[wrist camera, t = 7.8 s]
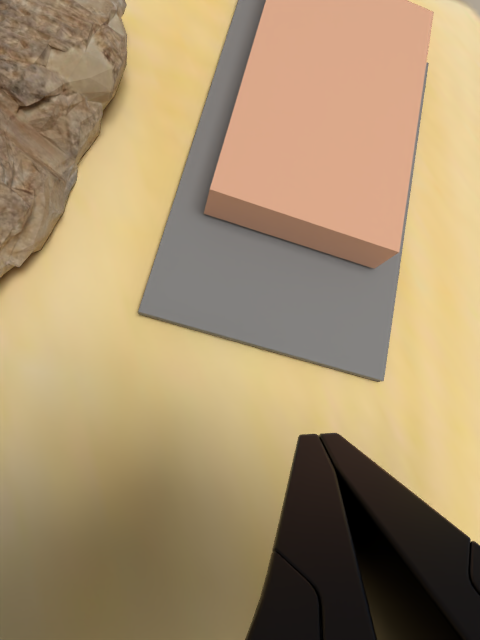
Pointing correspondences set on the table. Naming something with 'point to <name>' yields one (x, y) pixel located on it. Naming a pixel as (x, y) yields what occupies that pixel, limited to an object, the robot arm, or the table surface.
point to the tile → (326, 126)
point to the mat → (264, 258)
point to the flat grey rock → (50, 108)
